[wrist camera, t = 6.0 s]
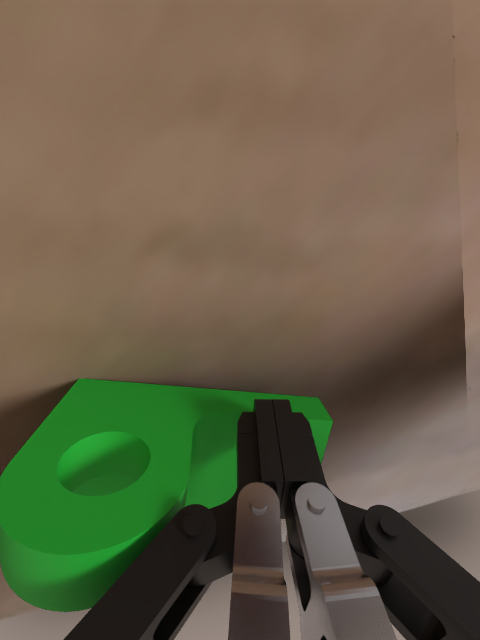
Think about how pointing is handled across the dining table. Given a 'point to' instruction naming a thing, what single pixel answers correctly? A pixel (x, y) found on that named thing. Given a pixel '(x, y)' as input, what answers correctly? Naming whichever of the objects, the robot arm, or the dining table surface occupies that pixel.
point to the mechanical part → (118, 481)
